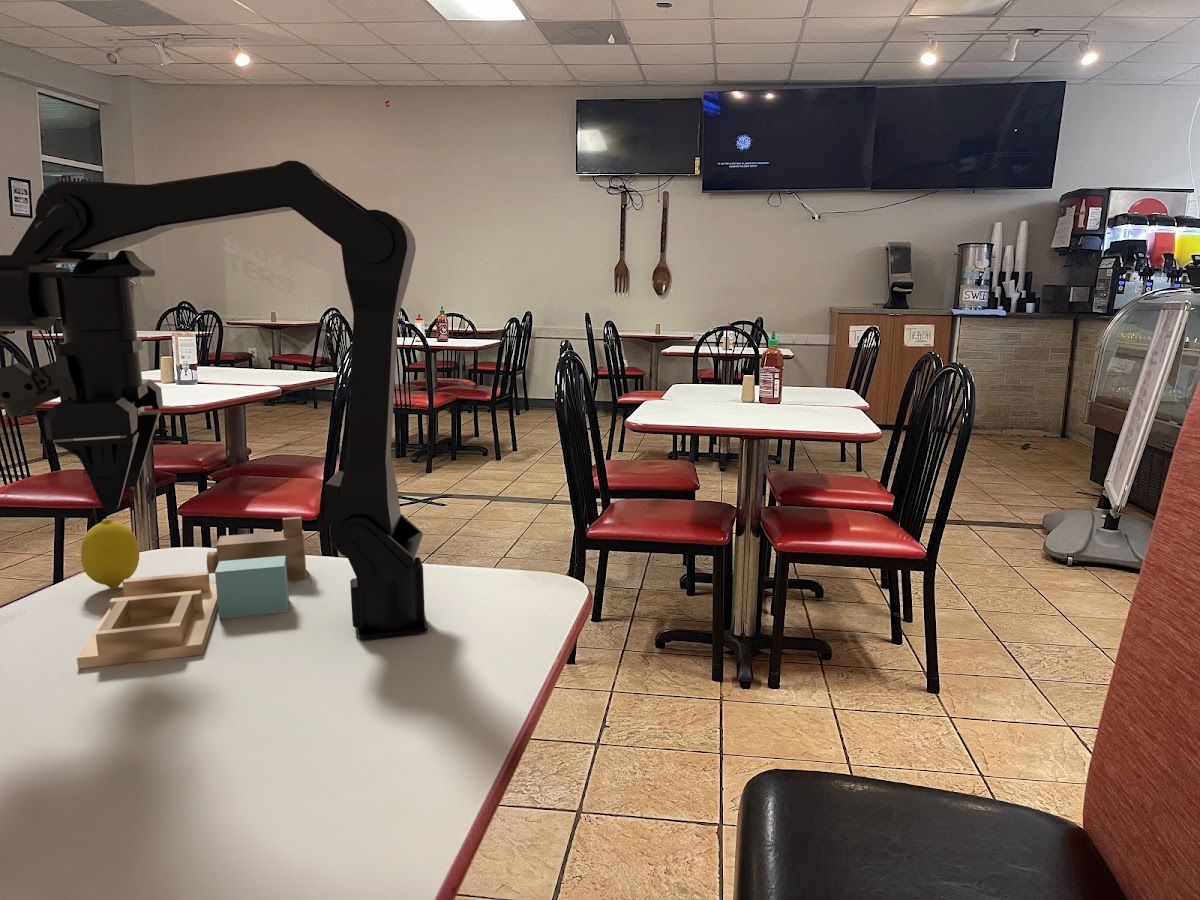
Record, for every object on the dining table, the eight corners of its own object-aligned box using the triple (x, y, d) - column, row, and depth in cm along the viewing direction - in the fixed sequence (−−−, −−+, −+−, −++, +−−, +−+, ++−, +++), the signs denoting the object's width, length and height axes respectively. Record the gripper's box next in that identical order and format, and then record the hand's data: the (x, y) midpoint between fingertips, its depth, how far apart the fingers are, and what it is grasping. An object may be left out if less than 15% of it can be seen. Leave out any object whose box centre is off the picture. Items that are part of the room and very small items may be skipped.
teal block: (223, 606, 89) (219, 561, 88) (288, 600, 91) (285, 555, 90) (219, 619, 86) (215, 572, 85) (287, 612, 88) (284, 566, 87)
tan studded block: (306, 570, 101) (302, 513, 99) (305, 580, 97) (301, 521, 96) (212, 578, 98) (207, 520, 96) (208, 589, 94) (203, 528, 93)
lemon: (125, 598, 91) (117, 526, 90) (74, 597, 91) (65, 525, 90) (152, 580, 97) (145, 512, 95) (104, 579, 97) (96, 511, 95)
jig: (223, 590, 94) (221, 564, 93) (202, 654, 78) (199, 623, 77) (121, 599, 91) (118, 573, 90) (78, 668, 75) (74, 636, 74)
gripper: (27, 327, 83) (49, 483, 86) (-46, 339, 65) (-15, 534, 68) (154, 323, 86) (171, 474, 89) (118, 334, 69) (140, 520, 72)
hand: (121, 497), depth 80 cm, fingers open, 9 cm apart
